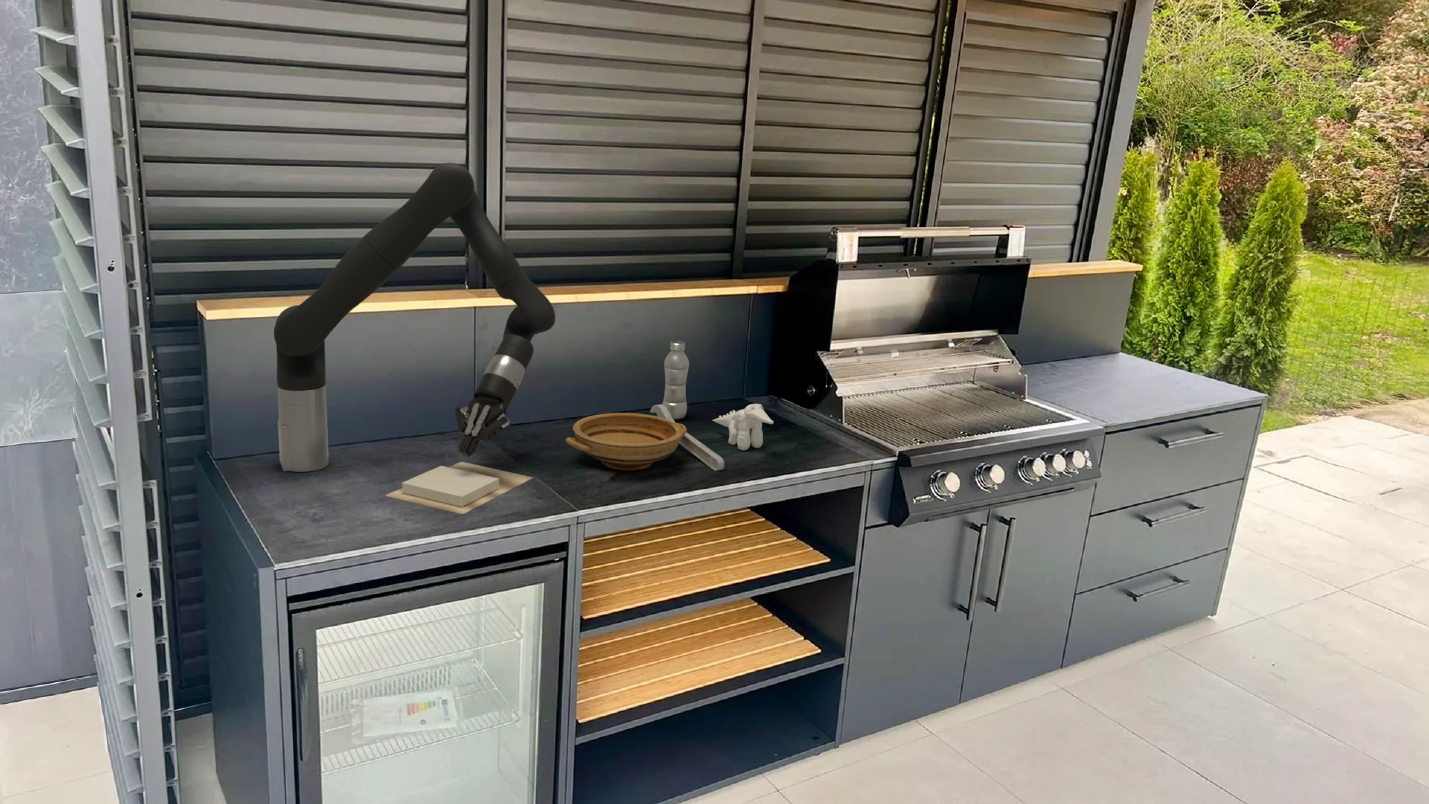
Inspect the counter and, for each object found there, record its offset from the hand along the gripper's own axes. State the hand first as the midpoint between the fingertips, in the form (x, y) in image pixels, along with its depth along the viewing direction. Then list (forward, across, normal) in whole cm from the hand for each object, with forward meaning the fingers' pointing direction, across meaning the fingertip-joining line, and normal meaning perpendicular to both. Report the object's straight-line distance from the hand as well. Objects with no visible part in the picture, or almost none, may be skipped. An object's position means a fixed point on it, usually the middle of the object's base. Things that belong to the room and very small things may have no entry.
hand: (464, 454), depth 207 cm
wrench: (-28, +26, +40) cm, 56 cm away
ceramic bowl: (-19, +18, +30) cm, 40 cm away
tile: (+2, 0, +5) cm, 6 cm away
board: (+6, 0, +5) cm, 8 cm away
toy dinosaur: (-37, +35, +49) cm, 71 cm away
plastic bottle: (-45, +12, +56) cm, 73 cm away
